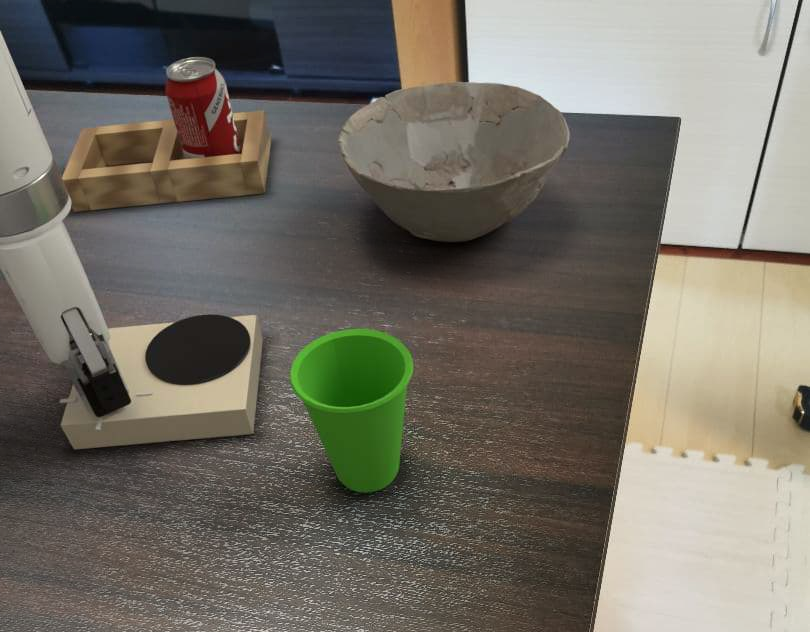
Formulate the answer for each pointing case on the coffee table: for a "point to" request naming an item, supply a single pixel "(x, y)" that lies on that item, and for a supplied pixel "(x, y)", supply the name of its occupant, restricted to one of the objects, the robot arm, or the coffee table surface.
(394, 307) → the coffee table surface
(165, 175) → the box
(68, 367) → the knob
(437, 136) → the ceramic bowl
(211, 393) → the hob
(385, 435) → the cup
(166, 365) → the burner
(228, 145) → the soda can
